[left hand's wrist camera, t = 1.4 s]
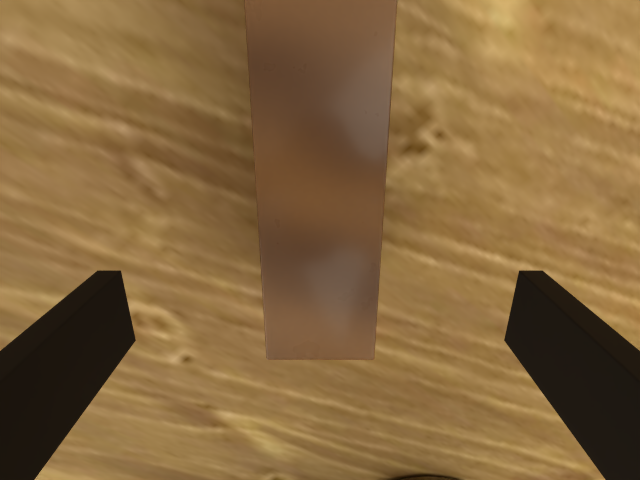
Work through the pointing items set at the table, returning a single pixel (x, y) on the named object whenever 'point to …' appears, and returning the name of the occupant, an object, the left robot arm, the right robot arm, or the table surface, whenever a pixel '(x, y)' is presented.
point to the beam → (320, 169)
